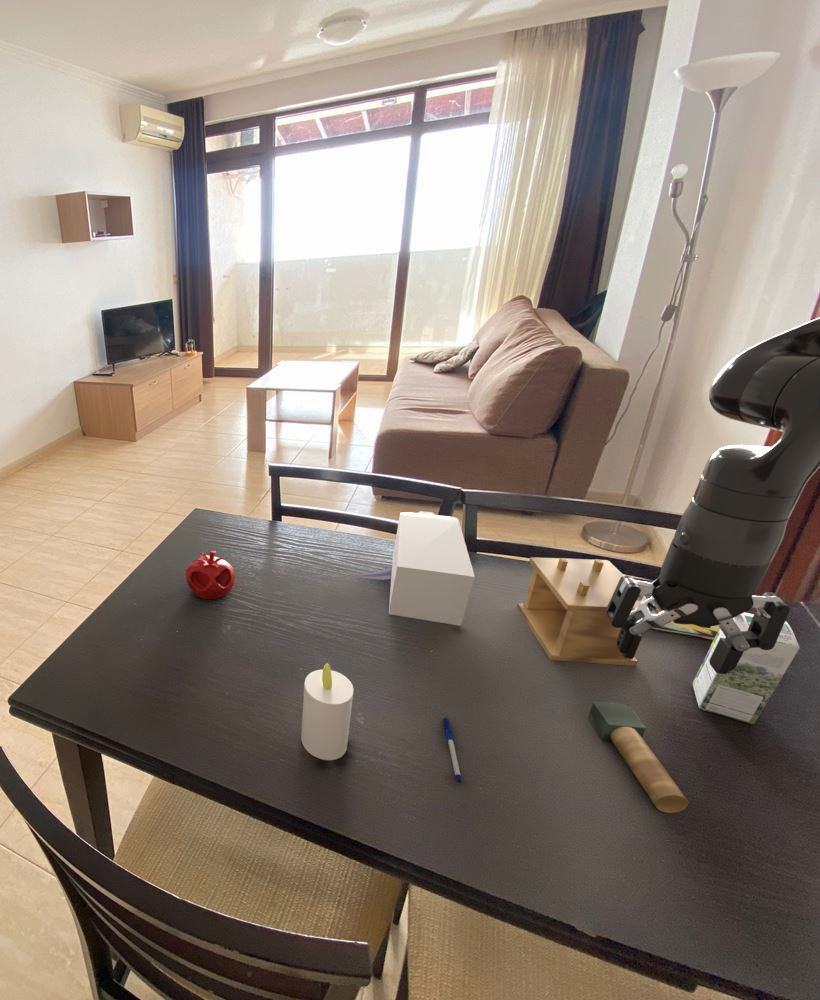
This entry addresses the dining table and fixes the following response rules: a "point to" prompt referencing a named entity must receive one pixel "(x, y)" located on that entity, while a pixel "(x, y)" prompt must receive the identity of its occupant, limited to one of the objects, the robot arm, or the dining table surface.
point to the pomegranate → (210, 576)
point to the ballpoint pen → (452, 749)
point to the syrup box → (745, 676)
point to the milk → (430, 569)
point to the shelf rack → (574, 609)
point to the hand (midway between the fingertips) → (669, 661)
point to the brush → (636, 753)
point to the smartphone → (689, 629)
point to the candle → (326, 713)
